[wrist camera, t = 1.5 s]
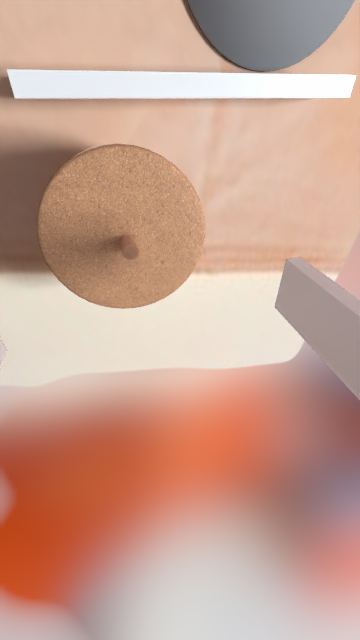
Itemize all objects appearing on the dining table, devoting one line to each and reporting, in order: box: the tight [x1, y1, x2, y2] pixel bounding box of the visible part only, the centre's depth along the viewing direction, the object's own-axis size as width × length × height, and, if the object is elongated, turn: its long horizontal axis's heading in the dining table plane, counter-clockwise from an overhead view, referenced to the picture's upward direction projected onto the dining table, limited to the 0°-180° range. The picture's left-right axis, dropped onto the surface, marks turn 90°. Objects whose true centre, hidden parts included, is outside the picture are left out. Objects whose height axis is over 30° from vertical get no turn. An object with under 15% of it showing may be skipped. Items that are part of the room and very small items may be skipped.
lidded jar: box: [37, 143, 205, 309], centre depth 21 cm, size 11×11×9 cm
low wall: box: [7, 69, 356, 100], centre depth 19 cm, size 22×1×4 cm, turn 90°
